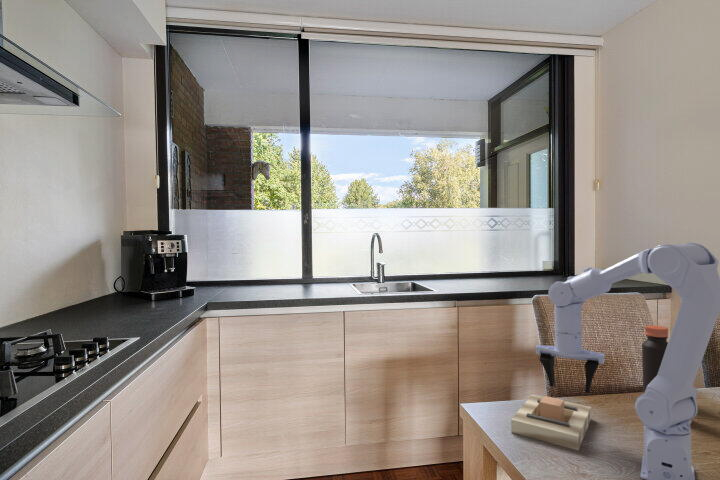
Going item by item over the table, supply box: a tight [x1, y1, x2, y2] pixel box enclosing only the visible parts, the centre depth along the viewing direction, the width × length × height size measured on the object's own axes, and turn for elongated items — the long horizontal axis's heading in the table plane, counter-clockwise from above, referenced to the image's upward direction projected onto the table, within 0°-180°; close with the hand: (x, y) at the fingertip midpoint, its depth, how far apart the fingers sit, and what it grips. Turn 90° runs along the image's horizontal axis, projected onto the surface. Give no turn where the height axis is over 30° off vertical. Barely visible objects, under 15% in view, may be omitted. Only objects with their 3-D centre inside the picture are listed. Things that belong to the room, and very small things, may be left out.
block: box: [539, 395, 565, 422], centre depth 96 cm, size 4×4×6 cm
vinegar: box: [641, 325, 669, 394], centre depth 109 cm, size 7×7×20 cm
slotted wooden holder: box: [510, 394, 592, 451], centre depth 96 cm, size 18×14×4 cm
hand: (569, 388), depth 95 cm, fingers open, 7 cm apart
